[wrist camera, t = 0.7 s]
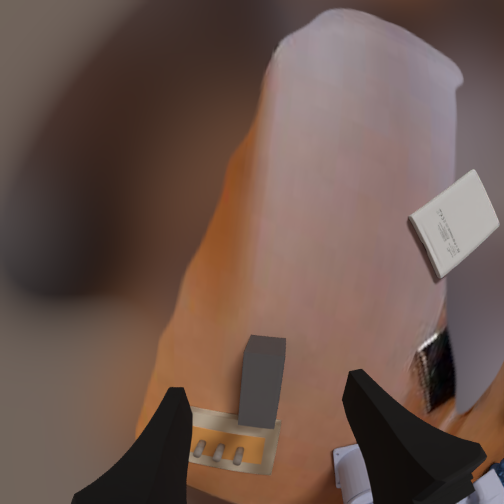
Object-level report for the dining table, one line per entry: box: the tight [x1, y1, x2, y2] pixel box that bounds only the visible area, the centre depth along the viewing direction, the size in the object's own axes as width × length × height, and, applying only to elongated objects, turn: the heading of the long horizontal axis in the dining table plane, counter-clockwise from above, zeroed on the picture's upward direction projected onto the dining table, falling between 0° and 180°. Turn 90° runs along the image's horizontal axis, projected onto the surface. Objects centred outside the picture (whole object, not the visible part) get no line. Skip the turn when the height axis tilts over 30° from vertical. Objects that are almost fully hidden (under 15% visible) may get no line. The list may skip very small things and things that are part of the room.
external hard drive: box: [408, 170, 499, 278], centre depth 26 cm, size 2×8×12 cm
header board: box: [189, 406, 281, 475], centre depth 28 cm, size 14×10×4 cm
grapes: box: [489, 458, 504, 487], centre depth 19 cm, size 12×7×12 cm, turn 169°
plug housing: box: [238, 335, 286, 429], centre depth 27 cm, size 9×4×5 cm, turn 175°
